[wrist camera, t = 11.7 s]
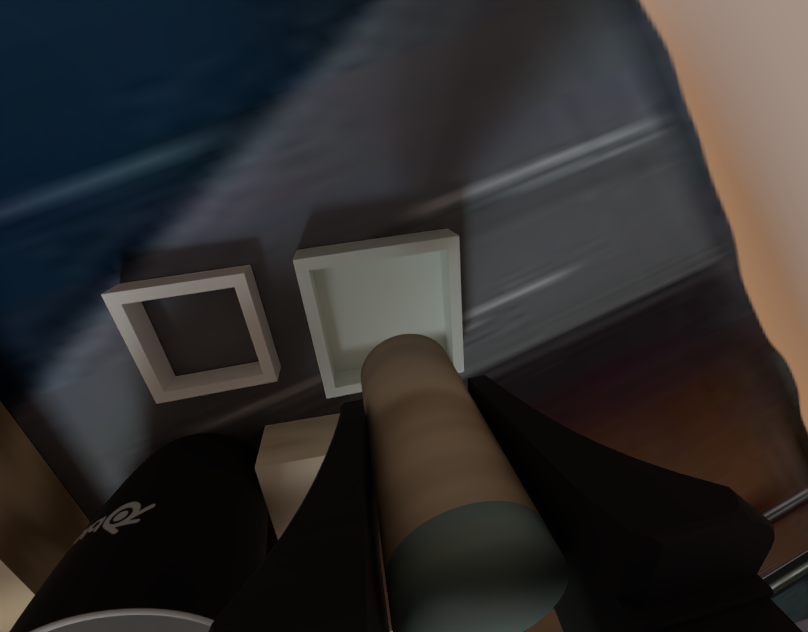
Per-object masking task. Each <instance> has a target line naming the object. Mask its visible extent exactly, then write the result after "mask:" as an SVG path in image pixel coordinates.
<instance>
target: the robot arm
mask: <svg viewBox="0 0 808 632" xmlns="http://www.w3.org/2000/svg"><path fill="white" fill-rule="evenodd" d="M468 391H469V393H470V395H471V396H472V398H473V400H474V402H475V403H476V405H477V407H478V409H479V410H480V412H481V414H482V416H483V417H484V419H485V421H486V422H487V424H488V426H489V428H490V429H491V431H492V433H493V435H494V436H495V438H496V440H497V442H498V443H499V445H500V447H501V448H502V450H503V452H504V454H505V455H506V457H507V459H508V461H509V462H510V464H511V466H512V468H513V469H514V471H515V473H516V474H517V476H518V478H519V480H520V481H521V483H522V485H523V487H524V488H525V490H526V492H527V494H528V495H529V497H530V499H531V500H532V502H533V504H534V506H535V507H536V509H537V511H538V513H539V514H540V516H541V518H542V520H543V521H544V523H545V525H546V526H547V528H548V530H549V532H550V533H551V535H552V537H553V539H554V540H555V542H556V544H557V546H558V547H559V549H560V551H561V552H562V554H563V556H564V558H565V559H566V562H567V564H568V567H569V581H568V584H567V587H566V589H565V592H564V594H563V595H562V597H561V598H560V600H559V601H558V603H557V604H556V605H555V606H554V609H555V611H556V614H557V616H558V619H559V621H560V624H561V626H562V629H563V631H564V632H808V619H805V620H802V621H799V622H796V623H794V622H793V621H792V620H791V619H790V618H789V617H788V616H787V615H786V614H785V613H784V612H783V611H782V610H781V609H780V608H779V607H778V606H777V605H776V604H775V603H774V602H773V601H772V600H771V599H770V598H769V597H772V595H773V594H774V593H773V590H772V588H771V587H770V586H769V585H768V584H767V583H766V582H765V581H764V580H763V579H762V578H761V577H760V576H759V575H758V574H757V573H758V571H759V569H760V567H761V565H762V564H763V562H764V560H765V558H766V556H767V555H768V553H769V551H770V549H771V547H772V544H773V542H774V527H773V526H772V524H771V523H770V521H769V520H768V519H767V518H765V517H764V516H763V515H762V514H761V513H759V512H758V511H757V510H756V509H755V508H753V507H752V506H751V505H750V504H749V503H747V502H746V501H745V500H744V499H743V498H741V497H740V496H739V495H738V494H737V493H735V492H734V491H733V490H732V489H730V488H729V487H727V486H723V485H719V484H716V483H712V482H709V481H705V480H701V479H698V478H694V477H691V476H687V475H684V474H680V473H677V472H674V471H671V470H668V469H665V468H662V467H659V466H656V465H653V464H650V463H647V462H644V461H641V460H639V459H636V458H633V457H631V456H628V455H626V454H623V453H621V452H618V451H616V450H613V449H611V448H609V447H606V446H604V445H602V444H599V443H597V442H595V441H593V440H591V439H589V438H587V437H584V436H582V435H580V434H578V433H576V432H574V431H572V430H570V429H568V428H567V427H565V426H563V425H561V424H559V423H557V422H556V421H554V420H552V419H551V418H549V417H547V416H545V415H544V414H542V413H540V412H539V411H537V410H536V409H534V408H532V407H531V406H529V405H528V404H526V403H525V402H523V401H522V400H520V399H519V398H517V397H516V396H514V395H513V394H511V393H510V392H508V391H507V390H506V389H504V388H503V387H501V386H500V385H498V384H497V383H496V382H494V381H493V380H491V379H490V378H488V377H487V376H485V375H483V376H478V377H473V378H468ZM208 632H389V625H388V617H387V609H386V602H385V594H384V586H383V579H382V571H381V563H380V553H379V538H378V516H377V506H376V498H375V490H374V482H373V474H372V466H371V458H370V450H369V440H368V430H367V423H366V415H365V410H364V404H363V399H362V400H357V401H352V402H347V403H344V404H343V405H342V406H341V411H340V416H339V419H338V423H337V426H336V429H335V432H334V435H333V438H332V440H331V443H330V446H329V448H328V451H327V453H326V456H325V458H324V460H323V462H322V464H321V467H320V469H319V471H318V473H317V475H316V477H315V479H314V481H313V483H312V485H311V487H310V489H309V491H308V493H307V495H306V496H305V498H304V500H303V502H302V503H301V505H300V507H299V509H298V510H297V512H296V513H295V515H294V517H293V518H292V520H291V521H290V523H289V525H288V526H287V528H286V529H285V531H284V532H283V534H282V535H281V537H280V538H279V540H278V541H277V543H276V544H275V545H274V547H273V548H272V549H271V551H270V552H269V553H268V555H267V556H266V558H265V559H264V560H263V562H262V563H261V564H260V566H259V567H258V568H257V570H256V571H255V573H254V574H253V575H252V576H251V578H250V579H249V580H248V581H247V583H246V584H245V585H244V586H243V587H242V589H241V590H240V591H239V592H238V593H237V595H236V596H235V597H234V598H233V599H232V601H231V602H230V603H229V604H228V605H227V606H226V608H225V609H224V610H223V611H222V612H221V614H220V615H219V616H218V617H217V618H216V619H215V621H214V622H213V623H212V624H211V626H210V629H209V631H208Z"/></svg>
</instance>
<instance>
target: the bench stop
mask: <svg viewBox="0 0 808 632" xmlns="http://www.w3.org/2000/svg"><path fill="white" fill-rule="evenodd" d="M89 523H90V521H89V520H88V518H87V517H86V516H85V514H84V513H83V512H82V510H81V509H80V508H79V506H78V505H77V503H76V502H75V501H74V499H73V498H72V497H71V495H70V494H69V493H68V491H67V490H66V489H65V487H64V486H63V485H62V483H61V482H60V481H59V479H58V478H57V476H56V475H55V474H54V472H53V471H52V470H51V468H50V467H49V466H48V464H47V463H46V462H45V460H44V459H43V458H42V456H41V455H40V454H39V452H38V451H37V450H36V448H35V447H34V445H33V444H32V443H31V441H30V440H29V439H28V437H27V436H26V435H25V433H24V432H23V431H22V429H21V428H20V427H19V425H18V424H17V423H16V421H15V420H14V418H13V417H12V416H11V414H10V413H9V412H8V410H7V409H6V408H5V406H4V405H3V404H2V402H1V401H0V632H9V631H10V630H11V628H12V627H13V625H14V624H15V623H16V621H17V620H18V618H19V617H20V615H21V614H22V612H23V611H24V610H25V608H26V607H27V605H28V604H29V603H30V601H31V600H32V598H33V597H34V596H35V594H36V593H37V591H38V590H39V589H40V587H41V586H42V585H43V583H44V582H45V580H46V579H47V578H48V576H49V575H50V574H51V572H52V571H53V570H54V568H55V567H56V566H57V564H58V563H59V562H60V560H61V559H62V558H63V556H64V555H65V554H66V552H67V551H68V550H69V549H70V547H71V546H72V545H73V543H74V542H75V541H76V540H77V538H78V537H79V536H80V534H81V533H82V532H83V531H84V529H85V528H86V527H87V526H88V524H89Z"/></svg>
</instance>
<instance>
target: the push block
mask: <svg viewBox="0 0 808 632" xmlns="http://www.w3.org/2000/svg"><path fill="white" fill-rule="evenodd" d="M339 416H340V413H338V414H332V415H326V416H320V417H314V418H308V419H302V420H296V421H290V422H284V423H278V424H272V425H266V426H265V428H264V432H263V436H262V440H261V444H260V448H259V452H258V456H257V460H256V464H255V471H256V474H257V477H258V480H259V483H260V487H261V490H262V493H263V496H264V499H265V502H266V505H267V508H268V511H269V514H270V517H271V520H272V523H273V526H274V529H275V532H276V535H277V539H278V540H279V538H280V537H281V535H282V534H283V532H284V531H285V529H286V528H287V526H288V525H289V523H290V521H291V520H292V518H293V517H294V515H295V513H296V512H297V510H298V509H299V507H300V505H301V503H302V502H303V500H304V498H305V496H306V495H307V493H308V491H309V489H310V487H311V485H312V483H313V481H314V479H315V477H316V475H317V473H318V471H319V469H320V467H321V464H322V462H323V460H324V458H325V456H326V453H327V451H328V448H329V446H330V443H331V440H332V438H333V435H334V432H335V429H336V426H337V423H338V419H339Z"/></svg>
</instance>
